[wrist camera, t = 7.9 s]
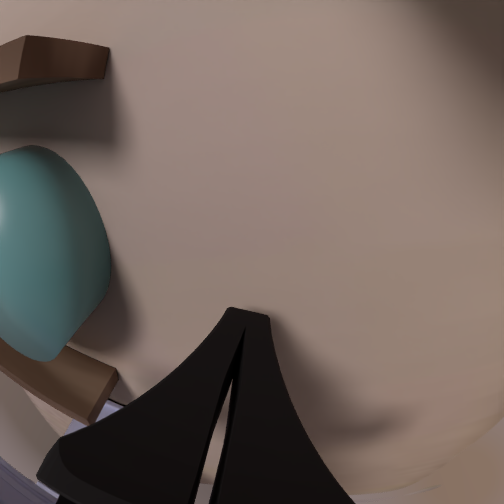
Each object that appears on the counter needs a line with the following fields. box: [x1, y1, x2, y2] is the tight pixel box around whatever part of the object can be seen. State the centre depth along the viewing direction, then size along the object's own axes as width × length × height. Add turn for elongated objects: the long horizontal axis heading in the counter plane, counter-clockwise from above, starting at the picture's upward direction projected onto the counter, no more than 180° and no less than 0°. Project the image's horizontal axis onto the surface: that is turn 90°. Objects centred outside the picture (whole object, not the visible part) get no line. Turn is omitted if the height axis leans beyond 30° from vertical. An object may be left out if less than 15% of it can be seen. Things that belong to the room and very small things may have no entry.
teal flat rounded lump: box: [0, 145, 111, 362], centre depth 9 cm, size 9×9×4 cm
